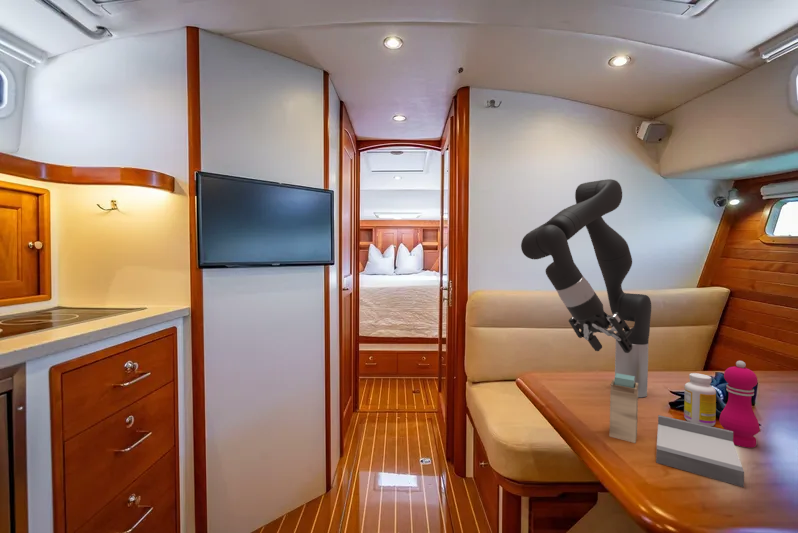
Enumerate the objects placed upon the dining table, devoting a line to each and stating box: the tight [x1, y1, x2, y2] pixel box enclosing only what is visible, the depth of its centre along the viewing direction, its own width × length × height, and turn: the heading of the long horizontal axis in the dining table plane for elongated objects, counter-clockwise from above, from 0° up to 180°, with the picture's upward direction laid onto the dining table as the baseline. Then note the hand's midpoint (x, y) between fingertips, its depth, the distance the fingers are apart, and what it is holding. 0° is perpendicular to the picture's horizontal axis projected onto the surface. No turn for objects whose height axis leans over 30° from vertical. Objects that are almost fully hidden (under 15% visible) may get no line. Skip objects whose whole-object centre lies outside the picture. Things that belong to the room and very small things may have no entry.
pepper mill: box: [718, 360, 761, 449], centre depth 89 cm, size 7×7×20 cm
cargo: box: [614, 373, 635, 388], centre depth 91 cm, size 4×4×3 cm
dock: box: [655, 414, 745, 488], centre depth 81 cm, size 16×14×5 cm
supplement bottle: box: [683, 372, 717, 427], centre depth 99 cm, size 7×7×13 cm
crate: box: [608, 378, 639, 444], centre depth 91 cm, size 6×6×13 cm
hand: (613, 350), depth 91 cm, fingers open, 8 cm apart
